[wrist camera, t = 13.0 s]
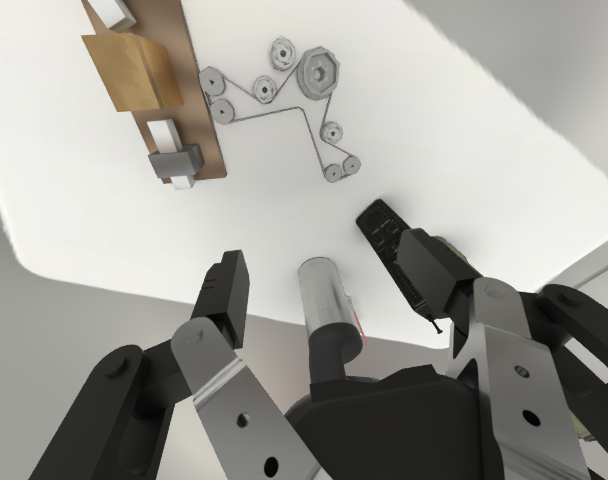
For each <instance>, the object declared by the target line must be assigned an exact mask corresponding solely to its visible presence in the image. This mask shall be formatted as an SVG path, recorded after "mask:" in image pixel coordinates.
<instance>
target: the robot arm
mask: <svg viewBox="0 0 608 480" xmlns="http://www.w3.org/2000/svg"><path fill="white" fill-rule="evenodd" d="M397 261H398V264H399V266H400V267H401V269H402V270H403V271H404V273H405V274H406V275H407V277H408V278H409V280H410V281H411V282H412V284H413V285H414V286H415V288H416V289H417V291H418V292H419V293H420V295H421V296H422V297H423V299H424V300H425V302H426V303H427V304H428V306H429V307H430V308H431V310H432V311H433V312H434V314H435V315H436V317H437V318H438V319H443V318H449V317H450V318H451V320H452V323H451V326H450V343H449V362H448V368H447V371H446V374H445V376H444V375H440V374H437V373H436V371H435V369H434V368H433V366H432V364H429V365H423V366H417V367H411V368H405V369H401V370H399V371H397V372H396V373H394V374H392V375H390V376H388V377H386V378H384V379H382V380H378V379H375V378H369V377H356V376H346V374H345V369H344V364H346V363H348V362H350V361H352V360H353V359H354V358H356V357H357V356H358V355H359V354H360V352H361V350H362V346H363V343H362V339H361V336H360V333H359V330H358V328H357V325H356V322H355V319H354V317H353V314H352V311H351V309H350V306H349V303H348V300H347V297H346V295H345V292H344V289H343V286H342V284H341V281H340V278H339V275H338V272H337V270H336V267H335V265H334V263H333V262H332V261H330V260H329V259H326V258H314V259H311V260H308V261H307V262H305V263H304V264H303V265H302V266H301V267H300V269H299V281H300V289H301V296H302V303H303V309H304V316H305V323H306V330H307V337H308V343H309V369H310V378H311V384H310V394H308V395H306V396H304V397H303V398H301V399H300V400H299V401H297V402H296V403H295V404H294V405H293V406H292V407H290V409H289V410H288V411H287V412H286V413H285V415H283V414H282V412H281V411H280V410H279V408H278V407H277V406H276V404H275V403H274V401H273V400H272V399H271V397H270V396H269V395H268V393H267V392H266V391H265V389H264V388H263V387H262V385H261V384H260V382H259V381H258V380H257V378H256V377H255V376H254V374H253V373H252V372H251V370H250V369H249V368H248V367H247V365H246V364H245V362H244V361H243V360H240V359H239V357H238V356H237V355H236V353H235V352H234V349H239V348H242V347H243V337H244V329H245V320H246V312H247V303H248V294H249V285H250V281H249V273H248V270H247V266H246V263H245V259H244V256H243V253H242V250H234V251H226V252H224V254H223V258H222V261H221V263H215V264H214V265H213V266H212V267H211V268H210V269H209V270H208V271H207V273H206V276H205V279H204V282H203V285H202V287H201V290H200V293H199V296H198V299H197V301H196V304H195V307H194V310H193V313H192V316H191V318H190V320H189V321H187V322H185V323H184V324H183V325H181V326H180V327H179V328H178V329H177V330H176V332H175V333H174V335H173V337H172V338H171V339H170V340H168V341H166V342H163V343H161V344H158V345H156V346H154V347H151V348H149V349H147V350H144V351H143V350H142V349H141V348H140V347H139V346H137V345H126V346H123V347H120V348H118V349H116V350H114V351H112V352H110V353H109V354H108V355H106V356H105V357H104V358H103V359H102V360H101V361H100V362H99V363H98V364H97V365H96V366H95V367H94V369H93V371H92V372H91V373H90V375H89V377H88V379H87V380H86V382H85V384H84V385H83V387H82V389H81V391H80V392H79V394H78V396H77V397H76V399H75V401H74V403H73V404H72V406H71V408H70V409H69V411H68V413H67V414H66V416H65V418H64V420H63V421H62V423H61V425H60V427H59V428H58V430H57V432H56V433H55V435H54V437H53V438H52V440H51V442H50V444H49V445H48V447H47V449H46V450H45V452H44V454H43V456H42V457H41V459H40V461H39V462H38V464H37V466H36V468H35V470H34V471H33V473H32V474H31V476H30V478H29V479H28V480H156V477H157V473H158V469H159V465H160V461H161V457H162V453H163V449H164V445H165V442H166V438H167V433H168V430H169V426H170V421H171V418H172V414H173V410H174V407H175V404H176V403H178V402H180V401H182V400H184V399H186V398H188V397H190V396H191V395H193V396H194V400H193V403H194V406H195V409H196V411H197V413H198V416H199V418H200V420H201V422H202V424H203V426H204V429H205V431H206V433H207V435H208V437H209V440H210V442H211V444H212V446H213V448H214V450H215V453H216V455H217V457H218V459H219V461H220V463H221V466H222V468H223V470H224V472H225V474H226V477H227V479H228V480H605V479H604V478H602V477H601V476H599V475H598V474H597V473H595V472H594V471H592V470H591V469H589V468H588V467H587V466H586V463H585V459H584V456H583V453H582V450H581V447H580V443H579V440H578V437H577V434H576V431H575V428H574V424H573V421H572V418H571V415H570V412H569V410H570V411H571V412H572V413H573V414H574V415H575V416H576V418H577V419H578V420H579V421H580V422H581V423H582V424H583V426H584V427H585V428H586V429H587V430H588V431H589V432H590V434H591V435H592V436H593V437H594V438H595V439H596V440H597V441H598V443H599V444H600V445H601V446H602V447H603V448H604V450H605V451H606V452H607V453H608V383H607V384H605V383H604V382H603V381H602V380H600V379H599V378H598V377H597V376H596V375H595V374H594V373H593V372H592V371H591V370H590V369H589V368H588V367H587V366H586V365H585V364H583V363H582V362H581V361H580V360H579V359H578V358H577V357H576V356H575V355H574V354H572V352H570V351H569V350H568V349H567V348H566V347H565V346H564V344H566V343H567V342H568V341H569V340H570V339H571V338H573V337H574V338H575V339H576V340H577V341H578V342H580V343H581V344H582V345H583V346H584V347H585V348H587V349H588V350H589V351H590V352H591V353H592V354H593V355H595V356H596V357H597V358H598V359H599V360H600V361H601V362H603V363H604V364H605V365H606V366H607V368H608V309H607V308H605V307H604V306H602V305H601V304H599V303H598V302H596V301H595V300H594V299H592V298H591V297H589V296H588V295H586V294H584V293H582V292H580V291H578V290H576V289H573V288H571V287H567V286H564V285H558V284H549V285H546V286H545V287H543V289H542V290H541V291H540V292H539V293H538V294H537V293H528V292H518V291H516V290H515V289H514V288H513V287H512V286H510V285H509V284H507V283H505V282H503V281H500V280H498V279H494V278H489V277H482V276H481V275H479V274H478V273H477V272H476V271H475V270H474V269H473V268H472V267H470V266H469V265H468V264H467V263H466V262H465V261H464V260H463V259H461V258H460V257H459V256H457V254H456V253H455V252H454V251H452V250H451V249H450V248H449V247H448V246H447V245H446V244H445V243H443V242H442V241H440V240H438V239H436V238H434V237H430V236H429V235H428V234H427V233H426V232H425V231H424V230H423V229H421V228H416V229H408V230H404V231H403V232H402V235H401V240H400V244H399V248H398V252H397Z"/></svg>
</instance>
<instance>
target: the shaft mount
mask: <svg viewBox="0 0 608 480" xmlns="http://www.w3.org/2000/svg"><path fill="white" fill-rule="evenodd" d="M81 1H82V3H83V6H84V8H85V10H86V12H87V15H88V17H89V19H90V21H91V23H92V26H93V28H94V30H95V32H96V35H101V34H119V33H133V34H135V35H138V36H140V37H143V38H145V39H148V40H150V41H153V42H155V43H157V44H160V45H162V46H165V47H166V49H167V52H168V55H169V58H170V61H171V64H172V68H173V71H174V74H175V77H176V80H177V83H178V86H179V89H180V92H181V96H182V99H183V102H184V105H179V106H173V107H167V108H161V109H149V110H136V111H131V113H132V115H133V117H134V119H135V121H136V124H137V126H138V128H139V130H140V133H141V135H142V137H143V139H144V141H145V144H146V146H147V148H148V150H149V153H150V155H148V157H149V160H150V162H151V164H152V166H153V168H154V171H155V173H156V175H157V177H158V178H161V179H162V181H163V184H166V183H173V185H174V188H175V190H180V189H190V188H192V187H193V185H194V184H195V180H205V179H215V178H225V177H226V175H227V173H226V169H225V165H224V162H223V158H222V154H221V151H220V147H219V143H218V139H217V136H216V132H215V128H214V125H213V121H212V117H211V113H210V110H209V106H208V103H207V101H206V98H205V95H204V93H203V90H202V87H201V85H200V80H199V74H200V73H199V69H198V65H197V61H196V58H195V54H194V50H193V47H192V43H191V39H190V35H189V32H188V28H187V24H186V21H185V17H184V13H183V9H182V6H181V2H180V0H81Z"/></svg>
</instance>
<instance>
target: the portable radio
mask: <svg viewBox="0 0 608 480" xmlns="http://www.w3.org/2000/svg"><path fill="white" fill-rule="evenodd" d="M356 223H357V225H358V226H359V228H360V229H361V231H362V232H363V234H364V235H365V237H366V238H367V240H368V241H369V243H370V244H371V246H372V247H373V249H374V251H375V252H376V254H377V255H378V257H379V258H380V260H381V261H382V263H383V264H384V266H385V267H386V269H387V270H388V272H389V274H390V275H391V277H392V278H393V280H394V281H395V283H396V284H397V286H398V288H399V289H400V291H401V292H402V294H403V295H404V297H405V298H406V300H407V302H408V303H409V305H410V306H411V308H412V309H413V310H414V312H416V313H418V314H419V315H421V316H422V317H424V318H425V319H427V320H429V322H432V323H433V325H434V326H435V328H436V329H437V333H438V334H440V333H442V332H443V331H442V330H440V329H439V328H438V326H437V325H436V323H435V322H434V320H435V319H437V317H436V315H435V314H434V312H433V311H432V310H431V308H430V307H429V306H428V304H427V303H426V302H425V300H424V299H423V297H422V296H421V295H420V293H419V292H418V291H417V289H416V288H415V286H414V285H413V284H412V282H411V281H410V280H409V278H408V277H407V275H406V274H405V273H404V271H403V270H402V269H401V267H400V266H399V264H398V261H397V252H398V248H399V244H400V240H401V235H402V232H403V231H404V230H408V229H412V228H411V227H410V226H409V225H407V224H406V223H405V222H404V221H403V220H402V219H401V218H400V217H399V216H398V215H397V214H396V213H395V212H394V211H393V210H392V209H391V208H390V207H389V206H388V205H387V204H386V203H385V202H384V201H383V200H381V199H380V200H377V201H376V202H375V203H374V204H373V205H372V206H371V207H370V208H369V209H368V210H367V211H366V212H365V213H364V214H363V215H362V216H361V217H360V218H359V219H358V220H357V221H356Z"/></svg>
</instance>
